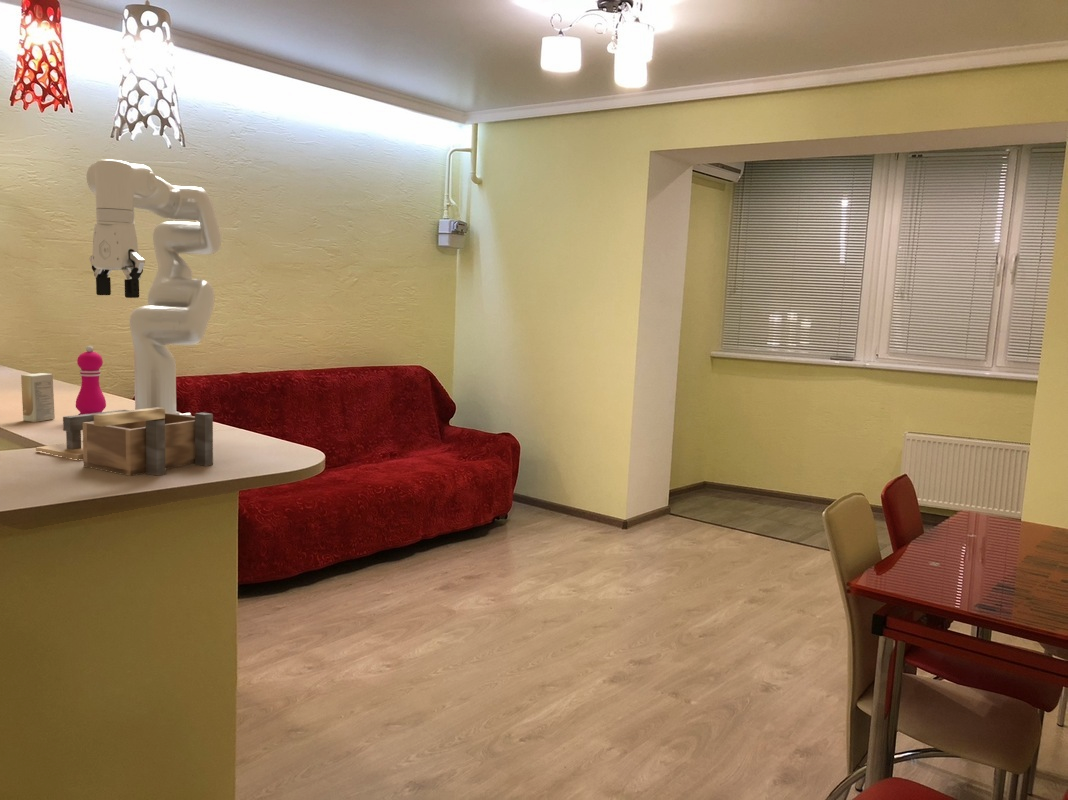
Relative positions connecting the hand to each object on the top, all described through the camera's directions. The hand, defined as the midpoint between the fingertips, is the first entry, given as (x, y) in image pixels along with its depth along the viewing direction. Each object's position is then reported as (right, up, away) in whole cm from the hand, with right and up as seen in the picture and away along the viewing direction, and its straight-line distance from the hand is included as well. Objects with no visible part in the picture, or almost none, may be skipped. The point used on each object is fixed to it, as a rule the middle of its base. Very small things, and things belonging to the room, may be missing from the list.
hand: (117, 296), depth 191 cm
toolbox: (+14, -37, -13) cm, 41 cm away
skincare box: (-38, -29, +35) cm, 59 cm away
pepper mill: (-25, -29, +37) cm, 54 cm away
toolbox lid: (-3, -34, -1) cm, 35 cm away
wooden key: (+16, -27, -27) cm, 42 cm away
